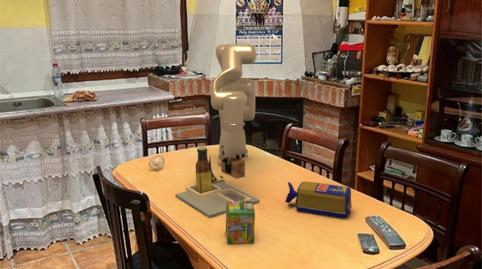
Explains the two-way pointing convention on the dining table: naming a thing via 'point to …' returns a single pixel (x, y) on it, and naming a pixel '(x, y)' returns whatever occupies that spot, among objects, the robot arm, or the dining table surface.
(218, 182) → the eiffel tower figurine
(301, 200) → the bread
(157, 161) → the ring around a ball
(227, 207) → the chalk box
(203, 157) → the sauce bottle
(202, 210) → the jig board
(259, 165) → the dining table surface
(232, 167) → the brown wooden block
